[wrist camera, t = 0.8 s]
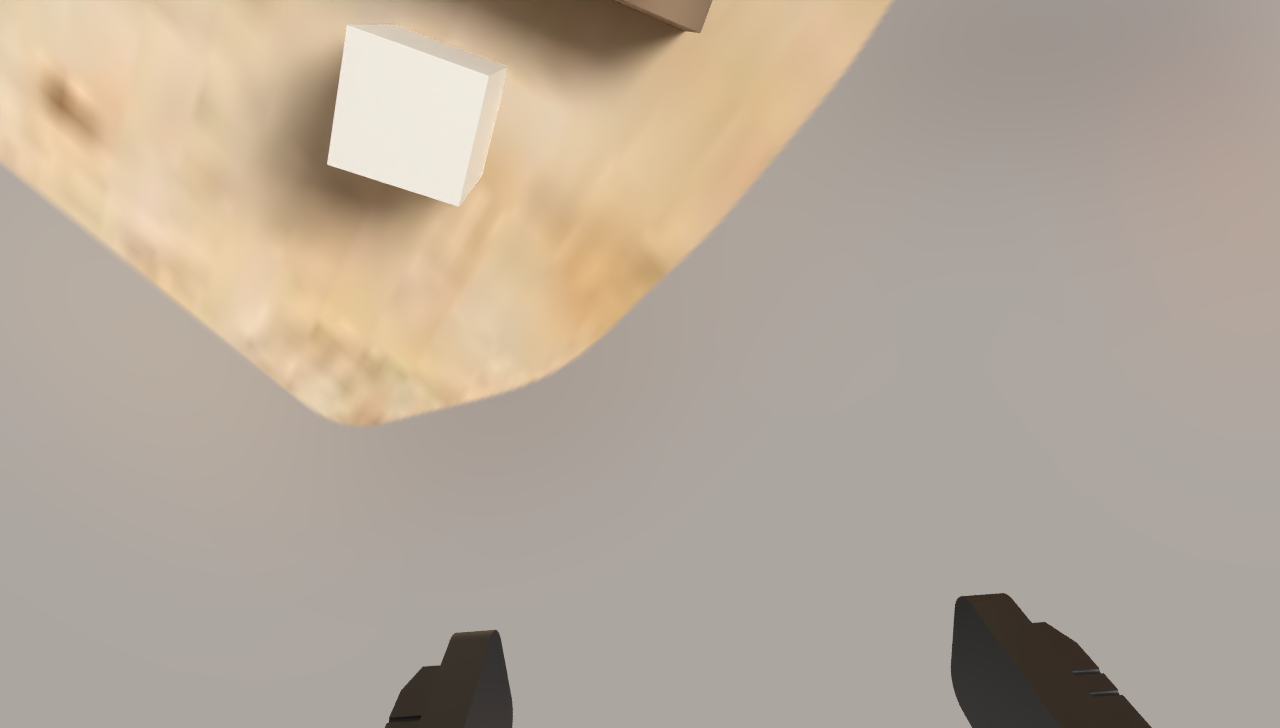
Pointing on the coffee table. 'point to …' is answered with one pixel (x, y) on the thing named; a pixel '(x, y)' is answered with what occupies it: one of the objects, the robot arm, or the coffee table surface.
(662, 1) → the walnut block
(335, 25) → the coffee table surface
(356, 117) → the cream block
